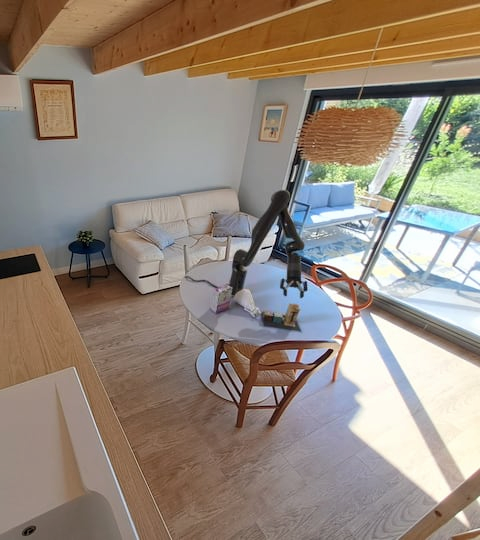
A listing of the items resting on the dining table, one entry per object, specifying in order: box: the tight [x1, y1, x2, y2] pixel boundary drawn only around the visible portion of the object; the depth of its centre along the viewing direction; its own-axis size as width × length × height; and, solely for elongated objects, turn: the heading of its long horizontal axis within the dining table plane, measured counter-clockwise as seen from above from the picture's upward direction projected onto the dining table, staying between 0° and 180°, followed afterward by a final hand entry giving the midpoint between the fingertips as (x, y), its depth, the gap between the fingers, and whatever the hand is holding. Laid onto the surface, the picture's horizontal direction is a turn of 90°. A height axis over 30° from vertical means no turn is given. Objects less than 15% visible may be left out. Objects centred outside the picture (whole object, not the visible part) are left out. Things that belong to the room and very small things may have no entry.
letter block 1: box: [261, 310, 273, 322], centre depth 174 cm, size 4×4×5 cm
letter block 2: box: [272, 311, 283, 323], centre depth 173 cm, size 4×4×5 cm
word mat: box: [260, 311, 302, 332], centre depth 173 cm, size 20×14×1 cm
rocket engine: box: [233, 288, 262, 318], centre depth 183 cm, size 12×12×18 cm
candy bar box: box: [210, 284, 233, 314], centre depth 181 cm, size 11×5×16 cm, turn 117°
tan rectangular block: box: [284, 303, 301, 325], centre depth 170 cm, size 5×5×12 cm
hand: (293, 297), depth 169 cm, fingers open, 8 cm apart
